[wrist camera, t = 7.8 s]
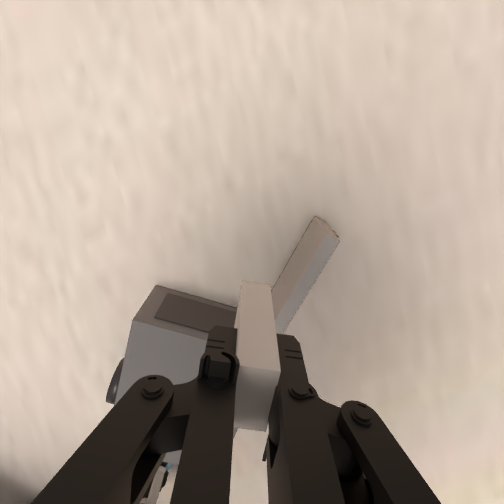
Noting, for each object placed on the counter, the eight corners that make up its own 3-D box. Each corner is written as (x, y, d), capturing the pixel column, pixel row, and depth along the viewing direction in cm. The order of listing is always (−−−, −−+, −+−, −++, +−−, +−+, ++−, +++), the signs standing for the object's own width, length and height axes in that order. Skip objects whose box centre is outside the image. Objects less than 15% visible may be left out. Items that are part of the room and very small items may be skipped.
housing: (224, 421, 40) (217, 482, 33) (119, 395, 38) (89, 452, 32) (266, 315, 34) (268, 361, 27) (144, 280, 33) (114, 319, 26)
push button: (160, 425, 40) (130, 515, 31) (195, 444, 41) (177, 537, 32) (133, 454, 42) (98, 547, 33) (167, 472, 43) (142, 566, 34)
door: (259, 312, 33) (259, 346, 28) (314, 216, 30) (326, 234, 24) (273, 319, 34) (276, 353, 28) (330, 224, 30) (345, 243, 25)
